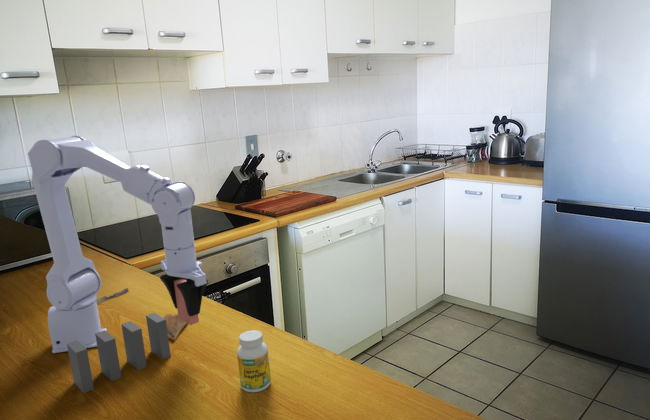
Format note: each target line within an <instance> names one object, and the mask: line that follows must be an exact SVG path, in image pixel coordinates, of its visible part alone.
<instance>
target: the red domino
mask: <svg viewBox="0 0 650 420" xmlns="http://www.w3.org/2000/svg"><path fill="white" fill-rule="evenodd" d="M183 282H186V280H184V279H178V280H175V281H174V286H175V294H176V302H177V314H178V318H180V319H181V320H183V321H185V322H186V323H187V324H188V325H189V326H192V325H195V324H198V323H199V322H200V318H199V314H196V315H194V316H189V315H188V312H187V309H186V305H185V301H184V298H183V296H182V293H181V292H180V290H179V289H178V287H177V284H180V283H183Z"/></svg>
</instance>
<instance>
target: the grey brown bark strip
mask: <svg viewBox="0 0 650 420" xmlns="http://www.w3.org/2000/svg"><path fill="white" fill-rule="evenodd" d="M128 292H129V288H127V287H126V288H124V289H122V290H121V291H118V292H115V293H114V294H111V295H109V296H106V295H105V296H104V295H103V296H102V297H100V298H99V299H96V302H97V306H99V305H101V304H102V303H104V302H106V301H109V300H111V299H114V298H116V297H120V296H122V295H124V294H126V293H128Z"/></svg>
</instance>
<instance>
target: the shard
mask: <svg viewBox="0 0 650 420" xmlns="http://www.w3.org/2000/svg"><path fill="white" fill-rule="evenodd" d="M161 317H162V318H164V319H166V325H167V332H168V339H170V340H172V341H176V340H177V338H178V336H179V335H180V333H181V332H182V330H183V329H184V327H185V326H186V325H187V324H188V323H186V322H185V321H183V320H181V319H180V318H178V313H177V314H173V313H171V314H170V313H169V314H167V313H166V314H163V315H162V316H161Z"/></svg>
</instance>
